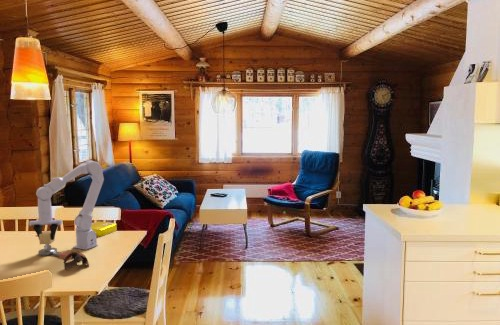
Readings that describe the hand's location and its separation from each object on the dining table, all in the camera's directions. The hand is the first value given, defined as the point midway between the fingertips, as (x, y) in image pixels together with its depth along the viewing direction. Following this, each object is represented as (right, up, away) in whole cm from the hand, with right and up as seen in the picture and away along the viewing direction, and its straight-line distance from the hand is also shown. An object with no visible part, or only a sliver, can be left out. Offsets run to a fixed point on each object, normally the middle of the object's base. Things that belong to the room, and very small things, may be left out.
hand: (47, 239), depth 195 cm
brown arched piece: (+22, -9, -17) cm, 29 cm away
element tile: (+11, -3, +37) cm, 39 cm away
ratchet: (+6, -7, -2) cm, 10 cm away
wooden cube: (0, -2, 0) cm, 2 cm away
